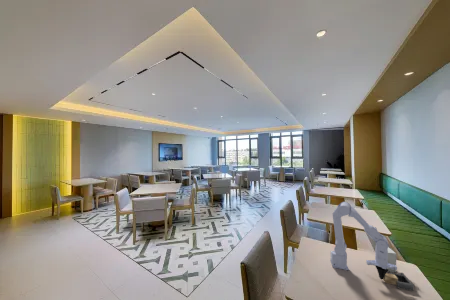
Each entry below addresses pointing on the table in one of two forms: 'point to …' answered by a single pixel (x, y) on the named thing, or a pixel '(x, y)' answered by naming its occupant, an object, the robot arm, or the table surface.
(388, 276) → the tan block
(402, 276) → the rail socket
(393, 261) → the supplement box
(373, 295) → the table surface
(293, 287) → the table surface
